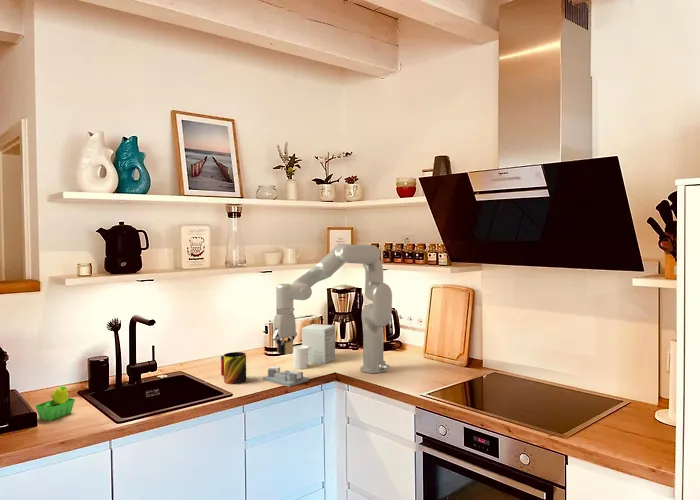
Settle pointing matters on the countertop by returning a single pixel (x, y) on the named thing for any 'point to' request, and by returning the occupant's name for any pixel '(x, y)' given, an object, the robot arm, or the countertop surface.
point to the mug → (234, 367)
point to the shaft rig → (285, 377)
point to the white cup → (300, 356)
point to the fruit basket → (56, 405)
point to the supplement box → (319, 342)
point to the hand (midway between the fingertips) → (285, 352)
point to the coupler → (287, 347)
